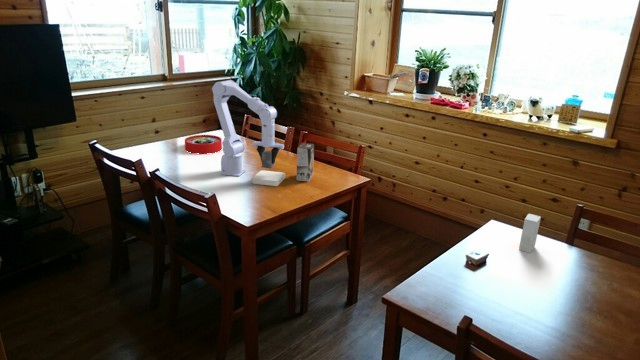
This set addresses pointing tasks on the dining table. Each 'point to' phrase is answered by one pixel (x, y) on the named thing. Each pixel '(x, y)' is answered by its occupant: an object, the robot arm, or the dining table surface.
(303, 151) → the coffee box
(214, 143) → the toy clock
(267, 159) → the block
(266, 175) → the plinth
